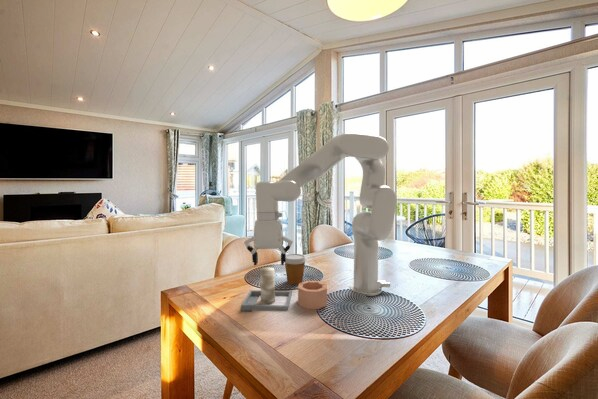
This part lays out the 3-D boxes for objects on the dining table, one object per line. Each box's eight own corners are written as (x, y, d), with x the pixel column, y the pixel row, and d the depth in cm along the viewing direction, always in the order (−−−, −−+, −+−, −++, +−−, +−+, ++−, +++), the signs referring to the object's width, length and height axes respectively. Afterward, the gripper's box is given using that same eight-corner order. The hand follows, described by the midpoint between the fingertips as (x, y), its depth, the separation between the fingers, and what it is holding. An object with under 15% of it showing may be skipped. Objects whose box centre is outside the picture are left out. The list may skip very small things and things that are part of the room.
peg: (275, 299, 104) (275, 267, 104) (273, 305, 99) (273, 271, 99) (262, 299, 105) (261, 267, 104) (259, 305, 100) (259, 271, 99)
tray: (291, 296, 108) (291, 291, 108) (288, 312, 95) (288, 306, 95) (250, 295, 109) (250, 290, 109) (241, 311, 96) (241, 305, 96)
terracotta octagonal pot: (326, 299, 106) (326, 281, 105) (327, 312, 96) (327, 291, 95) (299, 298, 106) (299, 280, 106) (297, 311, 96) (297, 291, 96)
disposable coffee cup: (303, 289, 116) (303, 260, 115) (281, 287, 118) (281, 258, 117) (307, 280, 125) (307, 254, 124) (286, 279, 127) (286, 253, 126)
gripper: (293, 214, 103) (294, 260, 104) (246, 215, 104) (248, 261, 106) (290, 217, 96) (292, 267, 97) (240, 218, 97) (242, 267, 98)
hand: (269, 264), depth 101 cm, fingers open, 9 cm apart
